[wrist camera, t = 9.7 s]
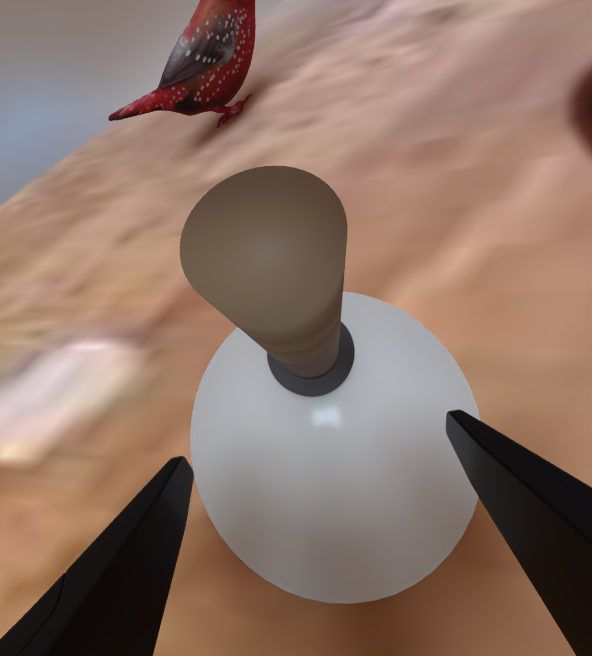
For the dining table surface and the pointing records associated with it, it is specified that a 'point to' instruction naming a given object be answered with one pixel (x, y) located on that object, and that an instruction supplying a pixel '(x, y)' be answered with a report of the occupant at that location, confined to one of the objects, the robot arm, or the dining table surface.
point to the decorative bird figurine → (205, 63)
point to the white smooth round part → (337, 461)
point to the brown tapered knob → (276, 270)
